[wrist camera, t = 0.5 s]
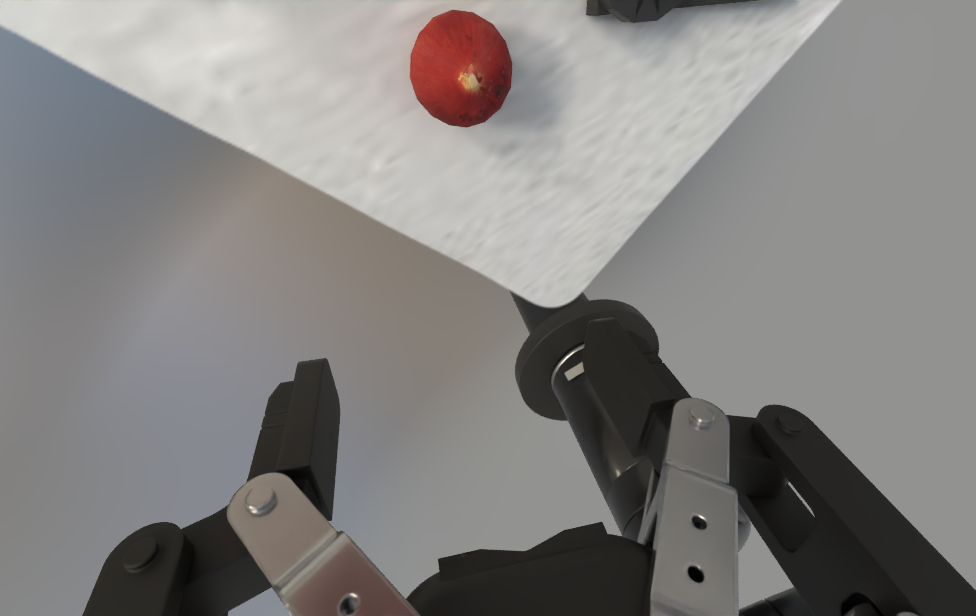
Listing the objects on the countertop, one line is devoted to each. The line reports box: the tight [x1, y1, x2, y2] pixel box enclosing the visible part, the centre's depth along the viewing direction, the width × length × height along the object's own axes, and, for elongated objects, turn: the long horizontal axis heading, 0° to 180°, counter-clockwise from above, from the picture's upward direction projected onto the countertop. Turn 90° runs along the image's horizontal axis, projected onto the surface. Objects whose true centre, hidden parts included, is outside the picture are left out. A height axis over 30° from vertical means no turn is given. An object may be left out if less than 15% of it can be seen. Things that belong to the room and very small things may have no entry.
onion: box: [410, 10, 512, 127], centre depth 25 cm, size 6×6×8 cm
